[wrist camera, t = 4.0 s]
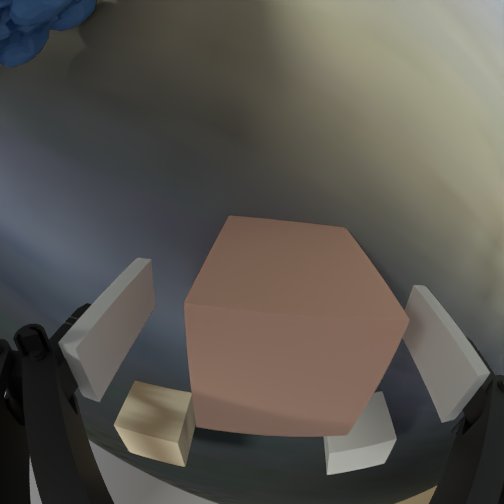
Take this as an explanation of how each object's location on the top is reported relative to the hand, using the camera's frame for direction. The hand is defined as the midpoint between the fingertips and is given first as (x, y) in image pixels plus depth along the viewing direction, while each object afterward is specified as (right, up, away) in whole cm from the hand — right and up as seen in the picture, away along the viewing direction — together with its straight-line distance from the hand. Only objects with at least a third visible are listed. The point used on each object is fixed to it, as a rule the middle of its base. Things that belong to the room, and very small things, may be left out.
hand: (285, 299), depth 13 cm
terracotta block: (0, +1, +2) cm, 2 cm away
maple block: (-9, -11, +8) cm, 16 cm away
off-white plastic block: (+7, -12, +7) cm, 15 cm away
